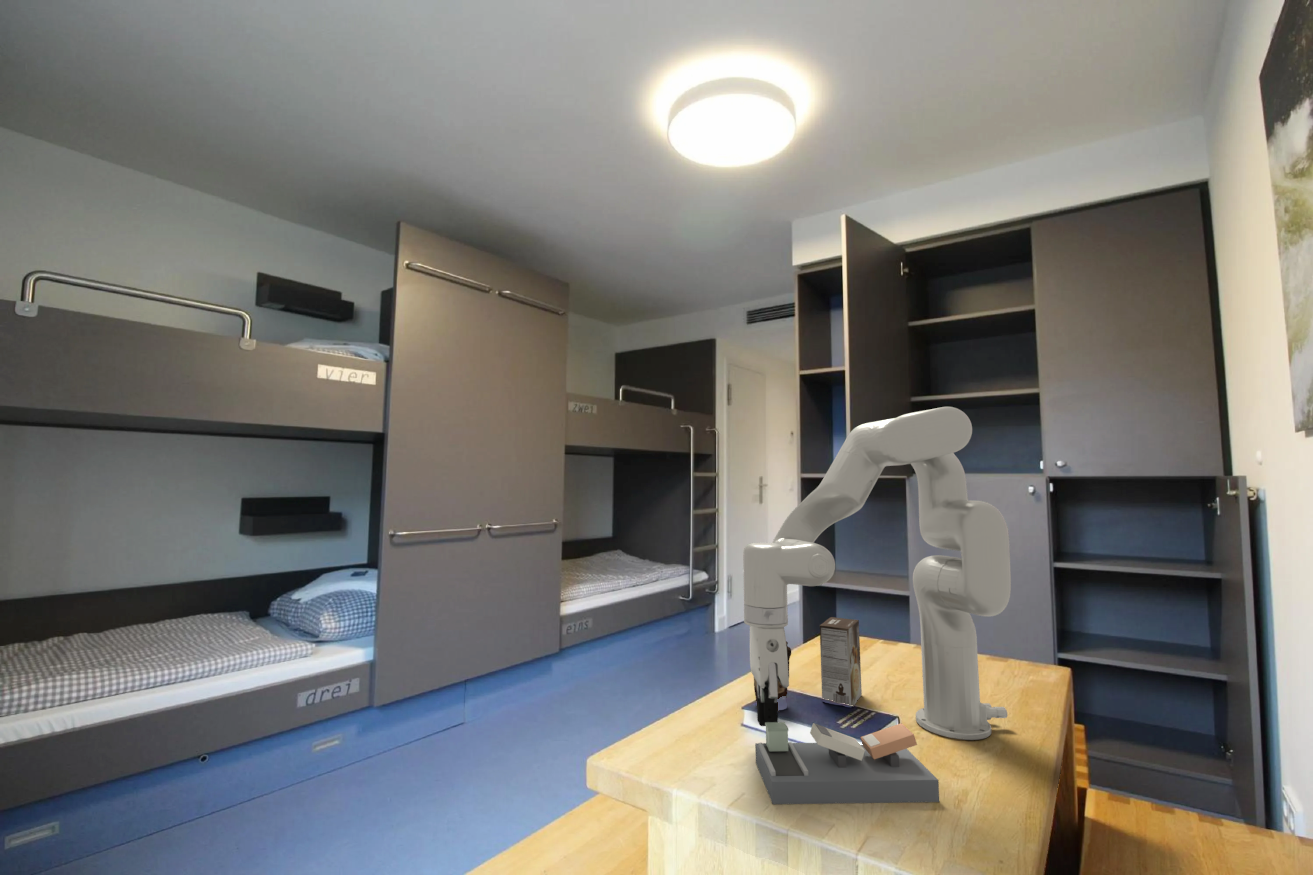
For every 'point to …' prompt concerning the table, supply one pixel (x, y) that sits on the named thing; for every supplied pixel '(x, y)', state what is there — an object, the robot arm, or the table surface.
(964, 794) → the table surface
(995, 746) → the table surface
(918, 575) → the robot arm
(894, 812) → the table surface
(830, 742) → the rocker cream
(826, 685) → the coffee box
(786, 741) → the green slider block
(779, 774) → the panel
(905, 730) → the rocker terracotta
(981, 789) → the table surface
